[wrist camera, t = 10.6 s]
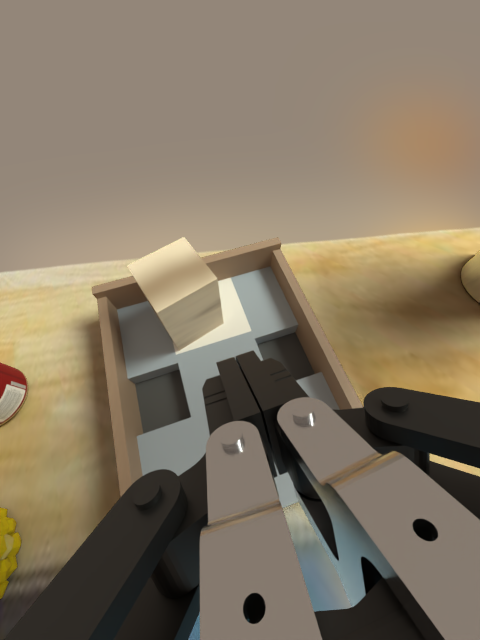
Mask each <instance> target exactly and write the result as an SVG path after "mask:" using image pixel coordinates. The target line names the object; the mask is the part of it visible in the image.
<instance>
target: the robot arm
mask: <svg viewBox="0 0 480 640" xmlns="http://www.w3.org/2000/svg"><path fill="white" fill-rule="evenodd" d="M461 280H462V283H463V285H464V287H465V289H466V290H467V292H468V293H469V294H470V295H471V296H472V297H473V298H474V299H475V300H476V301H477V302H479V303H480V250H479V251H478V252H477V253H476V254H475V256H474V257H473V258H472V259H470V260H469V261H468V262H467V263H466V264H465V265H464V266H463V268H462V271H461ZM235 357H236V359H235ZM235 357H231V358H228V359H225V360H222V361H219V362H216V364H217V367H218V370H219V374H220V375H218V376H215V377H212V378H209V379H206V381H205V383H204V385H203V388H202V392H203V398H204V404H205V410H206V416H207V422H208V428H209V434H210V437H209V439H208V441H207V444H206V453H205V454H204V456H203V457H202V458H201V459H200V460H199V461H198V462H197V463H196V464H195V465H193V466H192V467H191V468H189V469H188V470H186V471H185V472H183V473H182V474H181V475H179V476H177V475H176V473H174V472H173V471H171V470H167V469H159V470H155V471H152V472H149V473H147V474H145V475H144V476H142V477H140V478H139V479H138V480H136V481H135V482H134V483H133V484H132V485H131V486H130V487H129V488H128V489H127V490H126V492H125V493H124V494H123V495H122V496H121V498H120V499H119V500H118V501H117V503H116V504H115V505H114V506H113V507H112V509H111V510H110V511H109V512H108V514H107V515H106V516H105V517H104V518H103V520H102V521H101V522H100V523H99V524H98V526H97V527H96V528H95V529H94V531H93V532H92V533H91V534H90V535H89V537H88V538H87V539H86V540H85V542H84V543H83V544H82V545H81V546H80V548H79V549H78V550H77V551H76V552H75V554H74V555H73V556H72V557H71V559H70V560H69V561H68V562H67V563H66V565H65V566H64V567H63V568H62V570H61V571H60V572H59V573H58V574H57V576H56V577H55V578H54V579H53V580H52V582H51V583H50V584H49V585H48V587H47V588H46V589H45V590H44V591H43V593H42V594H41V595H40V596H39V597H38V599H37V600H36V601H35V602H34V604H33V605H32V606H31V607H30V608H29V610H28V611H27V612H26V613H25V615H24V616H23V617H22V618H21V619H20V621H19V622H18V623H17V624H16V625H15V627H14V628H13V629H12V630H11V632H10V633H9V634H8V635H7V636H6V638H5V639H4V640H188V638H189V636H190V634H191V631H192V629H193V626H194V624H195V622H196V619H197V617H198V614H199V612H200V640H480V477H479V476H476V475H473V474H469V473H466V472H463V471H460V470H457V469H454V468H451V467H447V466H444V465H441V464H438V463H435V462H432V461H429V453H431V454H434V455H437V456H441V457H444V458H447V459H450V460H454V461H457V462H460V463H464V464H467V465H470V466H474V467H477V468H480V403H479V402H474V401H468V400H463V399H457V398H452V397H446V396H441V395H435V394H430V393H425V392H419V391H414V390H408V389H403V388H396V387H385V388H379V389H376V390H373V391H371V392H370V393H369V394H367V395H366V397H365V399H364V407H362V408H353V409H343V410H335V409H331V408H330V407H329V406H328V405H327V404H326V403H324V402H323V401H321V400H318V399H315V398H310V397H309V396H308V395H307V394H306V392H305V391H304V390H303V389H302V388H301V386H300V385H299V384H298V383H297V381H296V380H295V379H294V378H293V377H292V376H291V374H290V373H289V372H288V371H287V370H286V368H285V367H284V366H283V364H282V363H281V362H279V361H277V360H274V359H272V358H268V359H265V360H262V361H261V360H260V359H259V357H258V356H257V354H256V353H255V352H254V350H252V351H249V352H246V353H243V354H240V355H237V356H235ZM274 463H275V464H274ZM275 465H276V468H277V470H278V472H279V475H282V474H284V473H287V472H288V474H289V476H290V478H291V480H292V482H293V486H294V490H295V494H296V497H297V499H298V501H299V503H300V505H301V507H302V509H303V510H304V512H305V514H306V516H307V518H308V519H309V521H310V523H311V525H312V527H313V529H314V530H315V532H316V534H317V536H318V538H319V539H320V541H321V543H322V545H323V547H324V548H325V550H326V552H327V554H328V556H329V557H330V559H331V561H332V563H333V565H334V567H335V569H336V570H337V573H338V575H339V577H340V579H341V581H342V584H343V587H344V589H345V592H346V594H347V597H348V599H349V602H350V604H351V606H352V607H351V608H348V609H341V610H329V611H317V612H314V610H313V607H312V604H311V601H310V597H309V594H308V591H307V587H306V584H305V581H304V577H303V574H302V571H301V568H300V564H299V561H298V558H297V554H296V551H295V548H294V545H293V541H292V538H291V535H290V531H289V528H288V525H287V522H286V518H285V515H284V512H283V509H282V505H281V502H280V501H279V494H278V490H277V487H276V483H275V479H274V478H275V477H277V472H276V468H275Z"/></svg>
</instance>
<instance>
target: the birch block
mask: <svg viewBox="0 0 480 640" xmlns="http://www.w3.org/2000/svg"><path fill="white" fill-rule="evenodd" d="M127 267H128V269H129V270H130V272H131V274H132V275H133V277H134V279H135V280H136V282H137V284H138V285H139V287H140V289H141V290H142V292H143V294H144V295H145V297H146V299H147V300H148V302H149V304H150V305H151V307H152V308H153V310H154V312H155V313H156V315H157V317H158V318H159V320H160V321H161V323H162V324H163V326H164V328H165V329H166V331H167V332H168V334H169V335H170V337H171V339H172V340H173V342H174V343H175V345H176V347H177V348H178V350H179V351H180V350H181V349H183V348H185V347H186V346H188V345H189V344H191V343H193V342H194V341H196V340H198V339H199V338H201V337H202V336H204V335H206V334H207V333H209V332H210V331H212V330H214V329H215V328H217V327H218V326H220V325H222V324H223V323H224V322H223V314H222V307H221V300H220V293H219V285H218V279H217V277H216V276H215V275H214V274H213V272H212V271H211V270H210V269H209V267H208V266H207V265H206V264H205V262H204V261H203V260H202V259H201V257H200V256H199V255H198V254H197V252H196V251H195V250H194V249H193V248H192V246H191V245H190V244H189V243H188V241H187V240H186V239H185V238H184V237H183V238H181V239H179V240H177V241H175V242H173V243H171V244H169V245H167V246H165V247H163V248H161V249H159V250H157V251H155V252H153V253H151V254H149V255H147V256H145V257H143V258H141V259H139V260H137V261H135V262H133V263H131V264H129V265H127Z"/></svg>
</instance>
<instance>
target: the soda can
mask: <svg viewBox="0 0 480 640" xmlns="http://www.w3.org/2000/svg"><path fill="white" fill-rule="evenodd" d="M27 394H28V381H27V378H26V376H25V375H24V374H23V373H22V372H21V371H20V370H18V369H15V368H13V367H10V366H8V365H5V364H2V363H0V425H2V424H4V423H5V422H7V421H8V420H10V419H11V418H12V417H13V416H14V415H15V414H16V413H17V412H18V411H19V410H20V408H21V407H22V405H23V404H24V402H25V400H26V397H27Z"/></svg>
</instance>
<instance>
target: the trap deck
mask: <svg viewBox="0 0 480 640" xmlns="http://www.w3.org/2000/svg"><path fill="white" fill-rule="evenodd" d="M280 247H281V242H280V240H279V238H278V237H277V238H273V239H269V240H266V241H262V242H258V243H254V244H250V245H247V246H243V247H239V248H235V249H232V250H228V251H224V252H220V253H217V254H213V255H209V256H205V257H202V258H201V259H202V260H203V261H204V262H205V264H206V265H207V266H208V267H209V269H210V270H211V271H212V272H213V274H214V275H215V276H216V277H217V279H218V285H219V293H220V300H221V307H222V314H223V322H224V323H223V324H222V325H220V326H218V327H217V328H215V329H214V330H212V331H210V332H209V333H207V334H206V335H204V336H202V337H201V338H199V339H198V340H196V341H194V342H193V343H191V344H189V345H188V346H186V347H185V348H183V349H181V350H180V351H179V350H178V348H177V347H176V345H175V343H174V342H173V340H172V339H171V337H170V335H169V334H168V332H167V331H166V329H165V328H164V326H163V324H162V323H161V321H160V320H159V318H158V317H157V315H156V313H155V312H154V310H153V308H152V307H151V305H150V304H149V302H148V300H147V299H146V297H145V295H144V294H143V292H142V290H141V289H140V287H139V285H138V284H137V282H136V280H135V279H134V277H133V276H131V277H127V278H123V279H119V280H116V281H112V282H108V283H104V284H101V285H97V286H93V287H92V293H93V295H94V296H95V297H96V298H97V303H98V312H99V320H100V329H101V337H102V346H103V354H104V363H105V371H106V380H107V388H108V396H109V405H110V413H111V422H112V430H113V439H114V447H115V456H116V464H117V473H118V481H119V490H120V498H121V496H122V495H123V494H124V493H125V492H126V490H127V489H128V488H129V487H130V486H131V485H132V484H133V483H134V482H135V481H136V480H138V479H139V478H140V477H142V476H144V475H145V474H147V473H149V472H152V471H155V470H159V469H167V470H171V471H173V472H174V473H176V475H177V476H179V475H181V474H182V473H183V472H185V471H186V470H188V469H189V468H191V467H192V466H193V465H195V464H196V463H197V462H198V461H199V460H200V459H201V458H202V457H203V456H204V454H205V453H206V444H207V441H208V439H209V437H210V434H209V428H208V422H207V416H206V410H205V404H204V398H203V392H202V388H203V385H204V383H205V381H206V379H209V378H212V377H215V376H218V375H220V374H219V370H218V367H217V364H216V362H219V361H222V360H225V359H228V358H231V357H235V356H237V355H240V354H243V353H246V352H249V351H252V350H254V352H255V353H256V354H257V356H258V357H259V359H260V360H261V361H262V360H265V359H268V358H272V359H274V360H277V361H279V362H281V363H282V364H283V366H284V367H285V368H286V370H287V371H288V372H289V373H290V374H291V376H292V377H293V378H294V379H295V380H296V381H297V383H298V384H299V385H300V386H301V388H302V389H303V390H304V391H305V392H306V394H307V395H308V396H309V397H310V398H315V399H318V400H321V401H323V402H324V403H326V404H327V405H328V406H329V407H330V408H331V409H335V410H343V409H353V408H362V407H363V406H362V404H361V402H360V400H359V398H358V396H357V394H356V392H355V390H354V389H353V387H352V385H351V383H350V381H349V379H348V377H347V375H346V373H345V371H344V369H343V368H342V366H341V364H340V362H339V360H338V358H337V356H336V354H335V352H334V350H333V349H332V347H331V345H330V343H329V341H328V339H327V337H326V335H325V333H324V331H323V329H322V328H321V326H320V324H319V322H318V320H317V318H316V316H315V314H314V312H313V310H312V308H311V307H310V305H309V303H308V301H307V299H306V297H305V295H304V293H303V291H302V289H301V288H300V286H299V284H298V282H297V280H296V278H295V276H294V274H293V272H292V270H291V268H290V267H289V265H288V263H287V261H286V259H285V257H284V255H283V253H282V251H281V249H280ZM235 359H236V357H235ZM274 464H275V463H274ZM275 468H276V465H275ZM276 472H277V477H275V478H274V479H275V483H276V487H277V490H278V494H279V501H280V502H281V505H282V508H285V507H287V506H290V505H292V504H294V503H297V502H299V501H298V499H297V497H296V494H295V490H294V486H293V482H292V480H291V478H290V476H289V474H288V472H287V473H284V474H282V475H279V472H278V470H277V468H276Z"/></svg>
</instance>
